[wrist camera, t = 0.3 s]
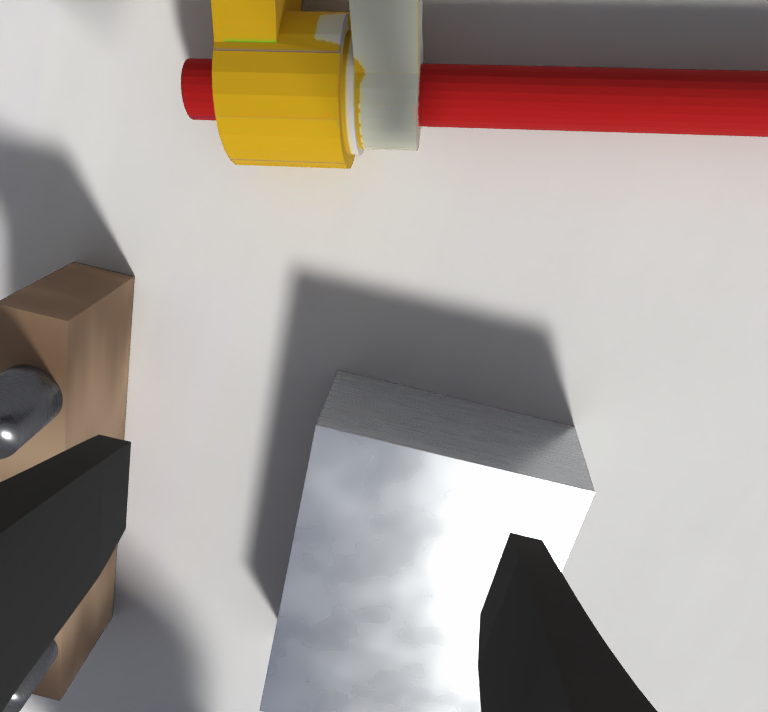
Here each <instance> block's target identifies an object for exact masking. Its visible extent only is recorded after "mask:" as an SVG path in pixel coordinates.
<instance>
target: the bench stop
mask: <svg viewBox="0 0 768 712" xmlns="http://www.w3.org/2000/svg"><path fill="white" fill-rule="evenodd" d="M134 279H135V277H134V276H129V275H125V274H121V273H117V272H113V271H109V270H105V269H101V268H97V267H93V266H89V265H85V264H80V263H76V262H73V263H71V264H69V265H67V266H65V267H63V268H61V269H59V270H57V271H56V272H54V273H52V274H50V275H48V276H46V277H44V278H42V279H40V280H38V281H36V282H35V283H33V284H31V285H29V286H27V287H25V288H23V289H21V290H19V291H17V292H15V293H14V294H12V295H10V296H8V297H6V298H4V299H2V300H0V482H2V481H4V480H6V479H8V478H10V477H12V476H14V475H16V474H18V473H20V472H23V471H25V470H27V469H29V468H31V467H33V466H35V465H37V464H39V463H41V462H43V461H45V460H47V459H49V458H51V457H53V456H55V455H57V454H59V453H61V452H63V451H65V450H67V449H69V448H71V447H73V446H75V445H77V444H79V443H81V442H83V441H86V440H88V439H90V438H92V437H94V436H97V435H99V434H100V435H104V436H108V437H112V438H116V439H121V440H124V433H125V417H126V402H127V387H128V371H129V356H130V340H131V325H132V309H133V294H134ZM116 556H117V546H116V548H115V549H114V551H113V553H112V555H111V557H110V559H109V560H108V562H107V564H106V566H105V567H104V569H103V571H102V573H101V574H100V576H99V577H98V579H97V580H96V582H95V583H94V585H93V586H92V587H91V589H90V590H89V592H88V593H87V594H86V596H85V597H84V598H83V600H82V601H81V603H80V604H79V605H78V607H77V608H76V609H75V611H74V612H73V614H72V615H71V616H70V618H69V619H68V620H67V622H66V623H65V624H64V626H63V627H62V629H61V630H60V631H59V633H58V634H57V635H56V637H55V638H54V639H53V641H52V642H51V644H50V645H49V646H48V648H47V649H46V650H45V652H44V653H43V654H42V656H41V657H40V658H39V660H38V661H37V663H36V664H35V665H34V667H33V668H32V669H31V671H30V672H29V673H28V675H27V676H26V678H25V679H24V680H23V682H22V683H21V685H20V686H19V688H18V689H17V691H16V692H15V694H14V695H13V697H12V698H11V699H10V701H9V702H8V704H7V705H6V707H5V709H4V710H3V712H19V711H20V710H21V709H22V707H23V706H24V705H25V703H26V702H27V700H28V699H29V697H30V696H31V694H35V695H39V696H43V697H47V698H51V699H55V700H59V701H60V700H61V698H62V697H63V695H64V693H65V692H66V690H67V689H68V687H69V685H70V684H71V682H72V681H73V679H74V677H75V676H76V674H77V673H78V671H79V669H80V668H81V666H82V665H83V663H84V661H85V660H86V658H87V656H88V655H89V653H90V652H91V650H92V648H93V647H94V645H95V644H96V642H97V640H98V639H99V637H100V636H101V634H102V632H103V631H104V629H105V628H106V626H107V624H108V623H109V621H110V620H111V618H112V616H113V602H114V587H115V572H116Z"/></svg>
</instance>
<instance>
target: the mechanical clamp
mask: <svg viewBox="0 0 768 712" xmlns="http://www.w3.org/2000/svg"><path fill="white" fill-rule="evenodd" d="M422 7H423V0H349V8H350V12H317V11H302V0H211V9H212V22H213V35H214V45H213V58H212V59H194V58H189V59H187V60H186V61H185V63H184V65H183V68H182V74H181V91H182V98H183V103H184V106H185V109H186V112H187V114H188V115H189V117H190V118H191V119H193V120H216V121H217V126H218V131H219V135H220V138H221V141H222V144H223V147H224V150H225V151H226V153H227V155H228V157H229V159H230V160H231V161H232V162H233V163H235V164H236V165H261V166H290V167H318V168H346V169H348V168H351V166H352V164H353V161H354V157H355V155H361V154H362V153H363V150H364V149H385V150H415V151H417V150H418V147H419V140H420V129H421V126H427V127H460V128H494V129H527V130H561V131H594V132H628V133H661V134H694V135H728V136H761V137H768V71H741V70H696V69H650V68H604V67H559V66H513V65H468V64H423V38H422Z"/></svg>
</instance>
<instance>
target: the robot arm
mask: <svg viewBox="0 0 768 712" xmlns="http://www.w3.org/2000/svg"><path fill="white" fill-rule="evenodd" d="M130 448H131V442H129V441H125V440H121V439H116V438H112V437H108V436H104V435H100V434H99V435H97V436H94V437H92V438H90V439H88V440H86V441H83V442H81V443H79V444H77V445H75V446H73V447H71V448H69V449H67V450H65V451H63V452H61V453H59V454H57V455H55V456H53V457H51V458H49V459H47V460H45V461H43V462H41V463H39V464H37V465H35V466H33V467H31V468H29V469H27V470H25V471H23V472H20V473H18V474H16V475H14V476H12V477H10V478H8V479H6V480H4V481H2V482H0V712H3V710H4V709H5V707H6V705H7V704H8V702H9V701H10V699H11V698H12V697H13V695H14V694H15V692H16V691H17V689H18V688H19V686H20V685H21V683H22V682H23V680H24V679H25V678H26V676H27V675H28V673H29V672H30V671H31V669H32V668H33V667H34V665H35V664H36V663H37V661H38V660H39V658H40V657H41V656H42V654H43V653H44V652H45V650H46V649H47V648H48V646H49V645H50V644H51V642H52V641H53V639H54V638H55V637H56V635H57V634H58V633H59V631H60V630H61V629H62V627H63V626H64V624H65V623H66V622H67V620H68V619H69V618H70V616H71V615H72V614H73V612H74V611H75V609H76V608H77V607H78V605H79V604H80V603H81V601H82V600H83V598H84V597H85V596H86V594H87V593H88V592H89V590H90V589H91V587H92V586H93V585H94V583H95V582H96V580H97V579H98V577H99V576H100V574H101V573H102V571H103V569H104V567H105V566H106V564H107V562H108V560H109V559H110V557H111V555H112V553H113V551H114V549H115V548H116V546H117V544H118V542H119V540H120V538H121V536H122V534H123V533H124V531H125V529H126V514H127V498H128V481H129V465H130ZM478 677H479V691H480V705H481V712H657V711H656V709H655V708H654V707H653V706H652V705H651V703H650V702H649V701H648V700H647V698H646V697H645V696H644V695H643V693H642V692H641V691H640V690H639V688H638V687H637V686H636V684H635V683H634V682H633V680H632V679H631V678H630V676H629V675H628V674H627V672H626V671H625V669H624V668H623V667H622V665H621V664H620V662H619V661H618V660H617V658H616V657H615V656H614V654H613V653H612V651H611V650H610V649H609V647H608V646H607V644H606V643H605V641H604V640H603V638H602V637H601V635H600V634H599V632H598V631H597V629H596V628H595V626H594V625H593V623H592V621H591V620H590V618H589V617H588V615H587V614H586V612H585V611H584V609H583V607H582V606H581V604H580V602H579V601H578V599H577V598H576V596H575V594H574V593H573V591H572V589H571V588H570V586H569V584H568V583H567V581H566V579H565V577H564V576H563V574H562V572H561V571H560V569H559V567H558V566H557V564H556V562H555V560H554V559H553V557H552V555H551V554H550V552H549V550H548V549H547V547H546V545H545V544H544V542H543V540H540V539H536V538H532V537H528V536H523V535H519V534H515V533H511V532H510V534H509V536H508V539H507V542H506V544H505V547H504V550H503V553H502V555H501V558H500V561H499V564H498V566H497V569H496V572H495V574H494V577H493V580H492V583H491V585H490V588H489V591H488V594H487V596H486V599H485V602H484V605H483V607H482V610H481V613H480V627H479V647H478Z"/></svg>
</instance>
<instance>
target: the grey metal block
mask: <svg viewBox="0 0 768 712" xmlns="http://www.w3.org/2000/svg"><path fill="white" fill-rule="evenodd" d="M594 494H595V491H594V487H593V484H592V481H591V478H590V475H589V471H588V468H587V465H586V462H585V458H584V455H583V452H582V449H581V446H580V442H579V439H578V436H577V433H576V430H575V427H574V426H570V425H566V424H562V423H558V422H553V421H549V420H545V419H541V418H537V417H533V416H528V415H524V414H520V413H516V412H512V411H508V410H503V409H499V408H495V407H491V406H487V405H482V404H478V403H474V402H470V401H466V400H462V399H457V398H453V397H449V396H445V395H441V394H437V393H432V392H428V391H424V390H420V389H416V388H411V387H407V386H403V385H399V384H395V383H391V382H386V381H382V380H378V379H374V378H370V377H366V376H361V375H357V374H353V373H349V372H345V371H341V370H337V373H336V376H335V378H334V381H333V383H332V386H331V388H330V391H329V393H328V396H327V398H326V401H325V403H324V406H323V409H322V411H321V414H320V416H319V419H318V421H317V424H316V427H315V432H314V438H313V443H312V448H311V453H310V458H309V463H308V468H307V473H306V478H305V483H304V488H303V493H302V498H301V503H300V508H299V513H298V518H297V523H296V528H295V533H294V538H293V544H292V549H291V554H290V559H289V564H288V569H287V574H286V579H285V584H284V589H283V594H282V599H281V604H280V609H279V614H278V619H277V624H276V629H275V634H274V639H273V644H272V650H271V655H270V660H269V665H268V670H267V675H266V680H265V685H264V690H263V695H262V700H261V705H260V711H264V712H481V705H480V691H479V677H478V647H479V627H480V613H481V610H482V607H483V605H484V602H485V599H486V596H487V594H488V591H489V588H490V585H491V583H492V580H493V577H494V574H495V572H496V569H497V566H498V564H499V561H500V558H501V555H502V553H503V550H504V547H505V544H506V542H507V539H508V536H509V534H510V532H511V533H515V534H519V535H523V536H528V537H532V538H536V539H540V540H543V542H544V544H545V545H546V547H547V549H548V550H549V552H550V554H551V555H552V557H553V559H554V560H555V562H556V564H557V566H558V567H559V569H560V571H562V569H563V567H564V564H565V562H566V559H567V557H568V555H569V552H570V550H571V548H572V545H573V543H574V541H575V538H576V536H577V534H578V531H579V529H580V527H581V524H582V522H583V520H584V517H585V515H586V512H587V510H588V508H589V505H590V503H591V501H592V498H593V496H594Z"/></svg>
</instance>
